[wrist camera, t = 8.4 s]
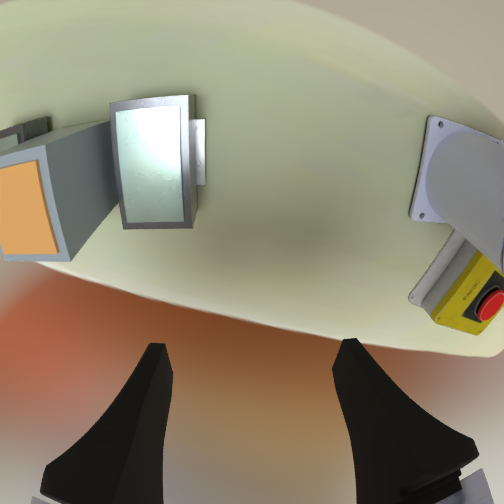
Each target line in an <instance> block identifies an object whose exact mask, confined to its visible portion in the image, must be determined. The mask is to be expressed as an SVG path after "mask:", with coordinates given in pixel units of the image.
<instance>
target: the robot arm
mask: <svg viewBox="0 0 504 504" xmlns="http://www.w3.org/2000/svg"><path fill="white" fill-rule="evenodd" d="M439 121H440V126H438V123H439ZM421 213H422V215H421V216H419V215H420V214H421ZM410 218H411V219H412V220H413V221H421V222H436V223H448V224H450V225H451V226H452V227H453V228H454V229H455V230H457V231H458V232H459V233H460V234H461V235H462V236H464V237H465V238H466V239H467V240H468V241H469V242H470V243H471V244H472V245H474V246H475V247H476V248H477V249H478V250H479V251H480V252H481V253H482V254H483V255H484V256H485V257H486V258H487V259H488V260H489V261H490V262H491V263H492V264H493V265H494V266H495V267H496V268H497V269H498V270H499V271H500V272H501V273H502V274H503V275H504V142H503V141H501V140H499V139H497V138H494V137H492V136H490V135H487V134H485V133H482V132H480V131H477V130H475V129H472V128H469V127H467V126H464V125H461V124H458V123H456V122H453V121H450V120H447V119H444V118H440V117H437V116H433V115H432V116H430V117H429V118H428V122H427V129H426V136H425V142H424V148H423V154H422V160H421V165H420V170H419V175H418V180H417V184H416V189H415V193H414V198H413V202H412V206H411V210H410ZM332 371H333V377H334V383H335V388H336V392H337V395H338V399H339V402H340V405H341V408H342V412H343V415H344V418H345V422H346V425H347V428H348V431H349V436H350V440H351V446H352V452H353V459H354V468H355V478H356V496H357V504H494V502H493V499H492V496H491V492H490V489H489V486H488V483H487V480H486V477H485V474H484V472H483V469H479V470H477V471H476V472H474V473H473V474H471V475H469V476H467V477H466V478H464V479H462V480H461V481H460V480H459V476H461V471H460V469H461V468H462V467H464V466H465V465H467V464H469V463H470V462H472V461H473V460H474V459H476V458H477V457H478V456H479V452H478V450H477V447H476V445H475V442H474V440H473V439H472V438H470V437H467V436H465V435H463V434H461V433H459V432H457V431H455V430H453V429H451V428H450V427H448V426H447V425H445V424H443V423H442V422H440V421H439V420H437V419H436V418H434V417H433V416H432V415H430V414H429V413H427V412H426V411H425V410H424V409H422V408H421V407H420V406H419V405H417V404H416V403H415V402H414V401H413V400H412V399H410V398H409V397H408V396H407V395H406V394H405V393H404V392H403V391H402V390H401V389H400V388H399V387H398V386H397V385H396V384H395V383H394V382H393V380H391V378H390V377H389V376H388V375H387V374H386V373H385V372H384V370H383V369H382V368H381V367H380V366H379V365H378V364H377V362H376V361H375V360H374V359H373V357H371V355H370V354H369V353H368V351H367V350H366V349H365V348H364V347H363V345H362V344H361V343H360V342H359V341H358V339H357V338H351V339H343V341H342V344H341V346H340V349H339V352H338V354H337V357H336V360H335V362H334V365H333V368H332ZM172 383H173V371H172V368H171V364H170V360H169V357H168V353H167V349H166V345H165V344H163V343H150V344H149V345H148V346H147V348H146V350H145V352H144V354H143V356H142V358H141V359H140V361H139V363H138V364H137V366H136V368H135V369H134V371H133V373H132V374H131V376H130V378H129V379H128V381H127V382H126V384H125V385H124V387H123V388H122V390H121V391H120V393H119V394H118V395H117V397H116V398H115V400H114V401H113V402H112V404H111V405H110V406H109V408H108V409H107V410H106V411H105V413H104V414H103V415H102V416H101V417H100V419H99V420H98V421H97V422H96V423H95V424H94V425H93V426H92V427H91V428H90V430H89V431H88V432H87V433H86V434H85V435H84V436H83V437H81V438H80V439H79V440H78V441H77V442H76V443H75V444H74V445H73V446H72V447H70V448H69V449H68V450H67V451H66V452H64V453H63V454H62V455H60V456H59V457H58V458H56V459H55V460H54V461H52V462H51V463H49V464H48V465H47V466H46V468H45V471H44V474H43V478H42V483H41V488H40V493H41V494H42V495H44V496H46V497H48V498H50V499H53V500H55V501H57V502H59V503H62V504H163V446H164V437H165V431H166V425H167V419H168V413H169V408H170V402H171V396H172ZM31 504H50V503H47V502H45V501H42V500H40V499H38V498H36V497H32V500H31Z"/></svg>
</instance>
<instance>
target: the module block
mask: <svg viewBox="0 0 504 504" xmlns="http://www.w3.org/2000/svg"><path fill="white" fill-rule="evenodd" d="M118 202H119V199H118V192H117V185H116V177H115V169H114V159H113V149H112V137H111V122H110V120H103V121H97V122H92V123H86V124H81V125H76V126H71V127H66V128H61V129H57V130H54V131H51V132H48V133H46V134H43V135H40V136H38V137H35V138H33V139H30V140H28V141H25V142H23V143H20V144H18V145H16V146H13V147H11V148H9V149H7V150H4V151H2V152H0V251H1V254H2V256H3V259H4V261H56V262H71V261H72V259H73V258H74V257H75V255H76V254H77V253H78V251H79V250H80V249H81V248H82V246H83V245H84V244H85V242H86V241H87V240H88V239H89V237H90V236H91V235H92V233H93V232H94V231H95V230H96V229H97V227H98V226H99V225H100V224H101V222H102V221H103V220H104V219H105V218H106V216H107V215H108V214H109V213H110V212H111V211H112V209H113V208H114V207H115V206H116V205H117V204H118Z"/></svg>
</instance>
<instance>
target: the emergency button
mask: <svg viewBox="0 0 504 504" xmlns="http://www.w3.org/2000/svg"><path fill="white" fill-rule="evenodd" d="M408 301H409V302H410V303H411V304H414V305H416V306H419V307H422V308H424V309H425V311H426V312H427V313H428V314H429V315H430V317H431V319H432V320H433V321H434V322H435V323H436V324H439V325H442V326H446V327H449V328H452V329H456V330H459V331H462V332H466V333H469V334H473V335H479V334H480V333H482V332H483V331H484V329H485V328H486V327H487V326H488V325H489V323H490V322H491V321H492V320H493V319H494V317H495V316H496V315H497V314H498V312H499V311H500V310H501V308H502V307H503V306H504V275H503V274H502V273H501V272H500V271H499V270H498V269H497V268H496V267H495V266H494V265H493V264H492V263H491V262H490V261H489V260H488V259H487V258H486V257H485V256H484V255H483V254H482V253H481V252H480V251H479V250H478V249H477V248H476V247H475V246H474V245H472V244H471V243H470V242H469V241H468V240H467V239H466V238H465V237H464V236H462V235H461V234H460V233H459V232H458V231H457V230H455V229H454V230H453V232H452V233H451V235H450V237H449V238H448V240H447V241H446V243H445V244H444V246H443V247H442V249H441V250H440V252H439V253H438V255H437V256H436V258H435V259H434V261H433V262H432V264H431V265H430V266H429V268H428V269H427V271H426V272H425V273H424V275H423V276H422V278H421V279H420V280H419V282H418V283H417V284H416V286H415V287H414V288H413V290H412V291H411V292H410V294H409V296H408Z"/></svg>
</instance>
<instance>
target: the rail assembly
mask: <svg viewBox="0 0 504 504" xmlns="http://www.w3.org/2000/svg"><path fill="white" fill-rule="evenodd" d="M110 122H111V137H112V149H113V159H114V169H115V177H116V185H117V192H118V199H119V206H120V212H121V219H122V224H123V229H178V228H193V224H194V221H195V217H196V213H197V209H198V204H197V186H205V184H206V160H205V119H195V94H194V95H176V96H163V97H152V98H143V99H134V100H127V101H120V102H114V103H110ZM46 133H48V128H47V116H46V117H42V118H39V119H35V120H32V121H28V122H25V123H22V124H19V125H16V126H13V127H10V128H7V129H4V130H1V131H0V152H2V151H4V150H7V149H9V148H11V147H13V146H16V145H18V144H20V143H23V142H25V141H28V140H30V139H33V138H35V137H38V136H40V135H43V134H46Z"/></svg>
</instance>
